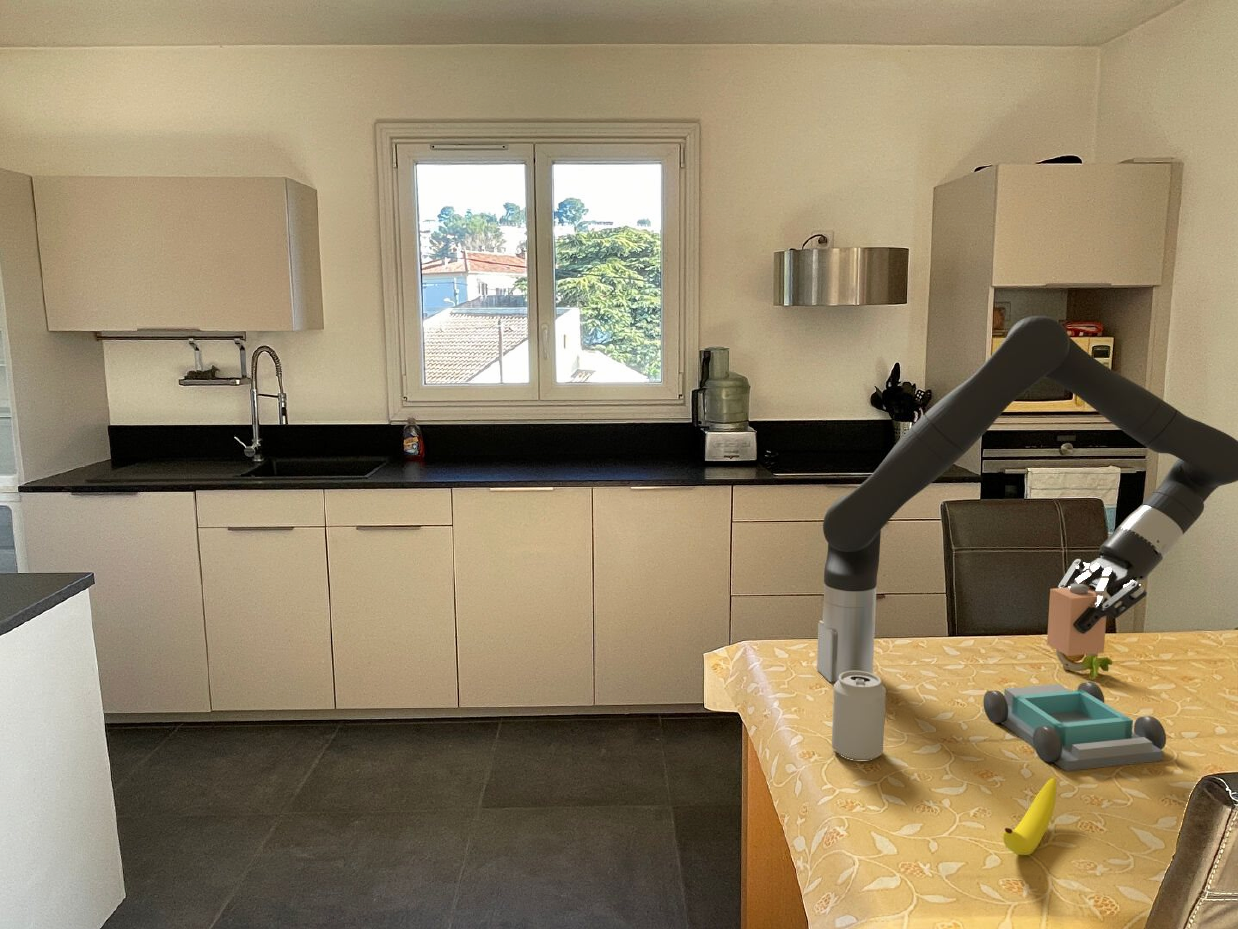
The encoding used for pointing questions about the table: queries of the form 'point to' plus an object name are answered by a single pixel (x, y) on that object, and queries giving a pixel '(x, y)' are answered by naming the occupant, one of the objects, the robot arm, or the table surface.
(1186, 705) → the table surface
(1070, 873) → the table surface
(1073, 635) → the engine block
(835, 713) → the can
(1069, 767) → the chassis
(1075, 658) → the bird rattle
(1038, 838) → the banana
